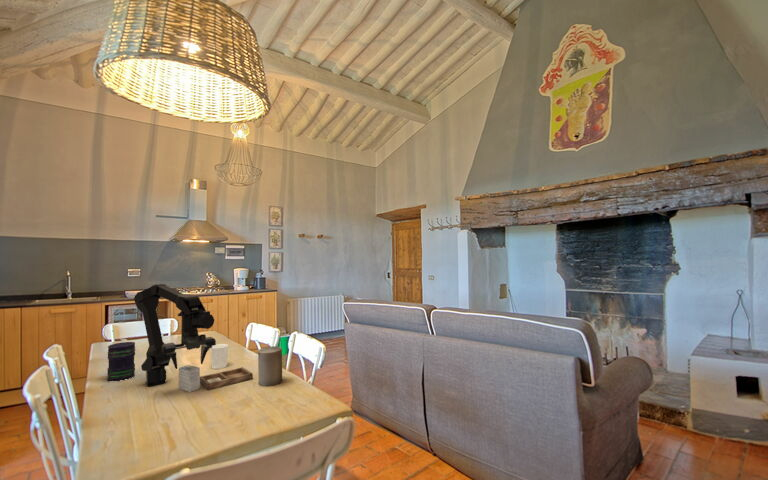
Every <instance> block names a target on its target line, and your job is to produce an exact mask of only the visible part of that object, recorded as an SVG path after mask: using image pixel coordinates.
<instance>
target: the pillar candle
mask: <svg viewBox="0 0 768 480" xmlns="http://www.w3.org/2000/svg"><path fill="white" fill-rule="evenodd" d="M257 355H258V357H257V358H258V362H257V364H258V365H257V366H258V370H257V371H258V372H257V374H258V376H257V377H258V385H260V386H262V387H270V386H271V387H272V386H276V385H278V384H281V383H282V382H283V348H282V347H281V346H272V345H271V346H266V347H261V348H259V349H258V350H257Z"/></svg>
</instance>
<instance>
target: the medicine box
mask: <svg viewBox="0 0 768 480" xmlns="http://www.w3.org/2000/svg"><path fill="white" fill-rule="evenodd" d="M200 371H201V370H200V367H199V366H196V365H191V364H186V365H183V366H181V367H178V389H179V390H181V391H184V392H185V391H186V392H189V393H191V392H194V391H197V390H200V389H201V384H200V377H201V372H200Z"/></svg>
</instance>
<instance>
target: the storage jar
mask: <svg viewBox="0 0 768 480" xmlns="http://www.w3.org/2000/svg"><path fill="white" fill-rule="evenodd" d="M135 345H136V342H134V341H125V342H123V341H121V342H117V343H113V344H110V345H107V348H108V350H107V360H108V367H107V382H110V381H117V382H121V381H120V380H123V381H126V380H125V379H127V380H130V379H132V377H133V378H135V371H136V364H135V355H136V346H135ZM129 378H130V379H129Z"/></svg>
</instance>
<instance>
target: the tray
mask: <svg viewBox="0 0 768 480" xmlns="http://www.w3.org/2000/svg"><path fill="white" fill-rule="evenodd" d="M253 379H254V377H253V373H252V372H251V371H249V370H248V369H246V368H245V367H239V368H238V367H237V368H234V369H230V370H229V369H228V370H225V371H219V372H215V373H211V374H205V375H202V376H201V375H200V386H203V387H204V389H206V390H207V391H210V390H215V389H217V388H223V387H227V386H231V385H234V384H240V383H241V382H242V383H243V382H247V381H251V380H253Z"/></svg>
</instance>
